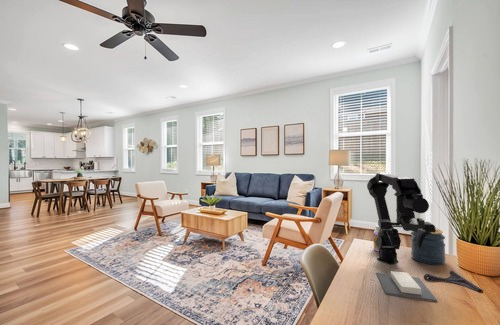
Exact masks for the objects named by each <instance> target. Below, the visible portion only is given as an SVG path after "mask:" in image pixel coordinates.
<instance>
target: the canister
mask: <svg viewBox="0 0 500 325" xmlns="http://www.w3.org/2000/svg"><path fill="white" fill-rule="evenodd" d="M435 228H436V232H431V234H428V235H427V236H426V237H425V239H424V240H423V243H422V245H421V247H420V248H418V244H417V237H418V231H417V232H415V231H410V234H411V238H410V242H411V251H410V252H411V258H412V259H413V260H415V261H417V262H419V263H422V264H427V265H432V266H433V265H435V266H441V265H445V264H446V258H447V257H446V243H445V242H444V241H445V240H446V236H444V235H443V231H442V230H441V229H440V228H439V227H436V226H435Z"/></svg>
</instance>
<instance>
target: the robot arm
mask: <svg viewBox="0 0 500 325" xmlns="http://www.w3.org/2000/svg"><path fill="white" fill-rule="evenodd" d="M389 186H391V189H392V190H394V191H395V193H394V194H393V195H394V196H396V210H395V212H396V220H395V222H394V221H392V220H391V217H390V212H389V209H388V204H387V200H386V194H387V192H388V187H389ZM366 187H367V190H368V192H369V195H370V197H372V198H373V199H374V204H375V208H376V213H377V217H378V220H377V221H378V222H377V225H378V226H379V227H380V230H379V232H378V238H377V239H376V241H375V243H376V246H377V247H378V248H379V251H378V257H376V260H378V261H380V262H382V263H386V264H388V265H392V264H393V265H394V264H396V263H399V260H398V253H397V250H400V247H401V243H402V240H401V237H400V234H399V230H398V228H402V229H403V231H406V232H409V231H410V232H412V231H415V232H417V231H418V237H417V244H418V248H420V247H421V245H422V243H423V240H424V239H425V237H426V236H427V235H428V234H431V232H436V228H437V227H436V226H435V224H433V223H431V222H429V221H425V219H424V218H423V217H416V215H415V213H417V214H424V213H426V212H428V211H429V208H430V203H429V202H428V201H427V200H426V198H424V194H422V190H421V188H420V187H419V185H418V184H417V181H416V179H415V178H414V177H409V176H408V177H399V176H397V175H395V174H393V175H392V174H390V173H389V172H378V173H376V174H375V176H373V177H371V178H370V179H369V180H368V182H367V185H366ZM435 227H436V228H435Z"/></svg>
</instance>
